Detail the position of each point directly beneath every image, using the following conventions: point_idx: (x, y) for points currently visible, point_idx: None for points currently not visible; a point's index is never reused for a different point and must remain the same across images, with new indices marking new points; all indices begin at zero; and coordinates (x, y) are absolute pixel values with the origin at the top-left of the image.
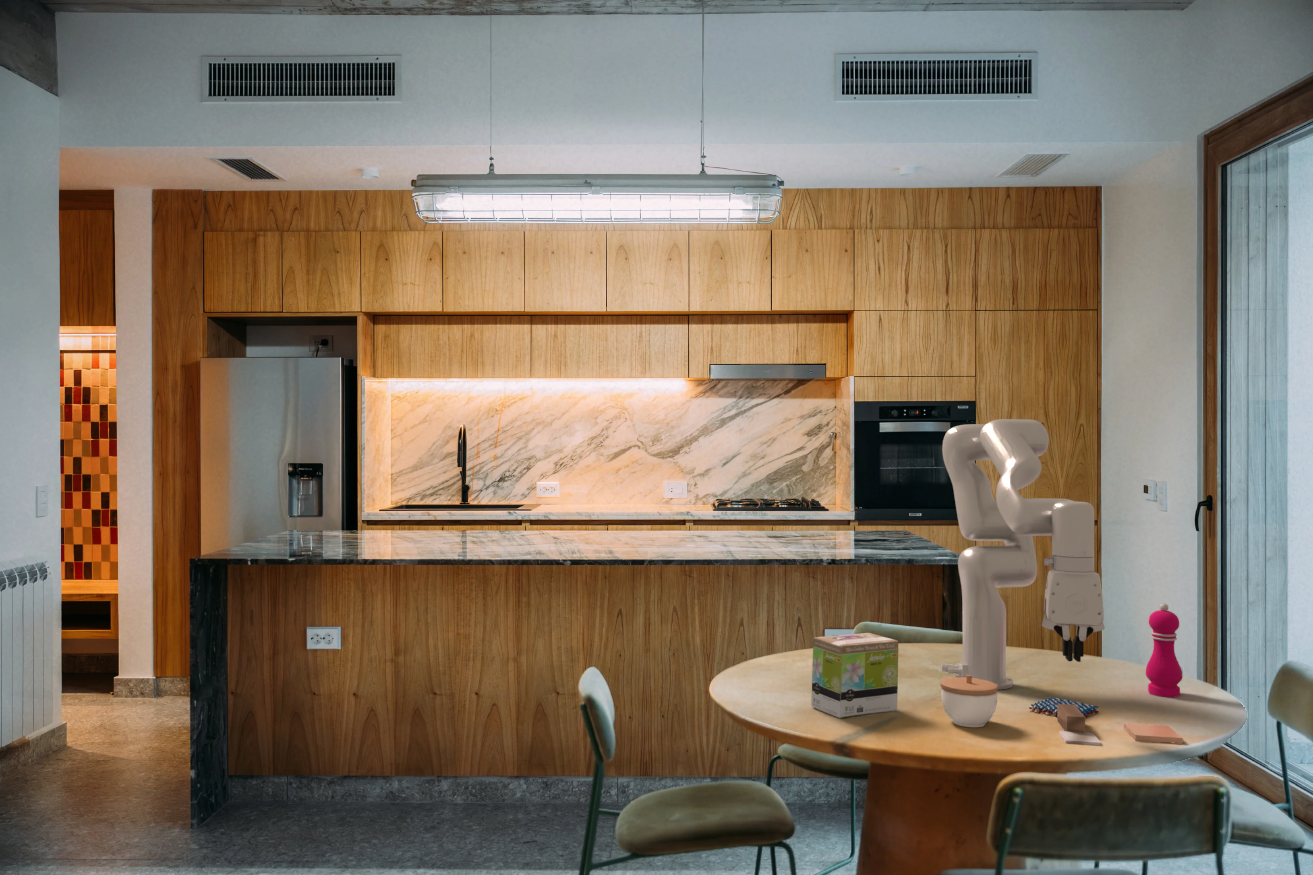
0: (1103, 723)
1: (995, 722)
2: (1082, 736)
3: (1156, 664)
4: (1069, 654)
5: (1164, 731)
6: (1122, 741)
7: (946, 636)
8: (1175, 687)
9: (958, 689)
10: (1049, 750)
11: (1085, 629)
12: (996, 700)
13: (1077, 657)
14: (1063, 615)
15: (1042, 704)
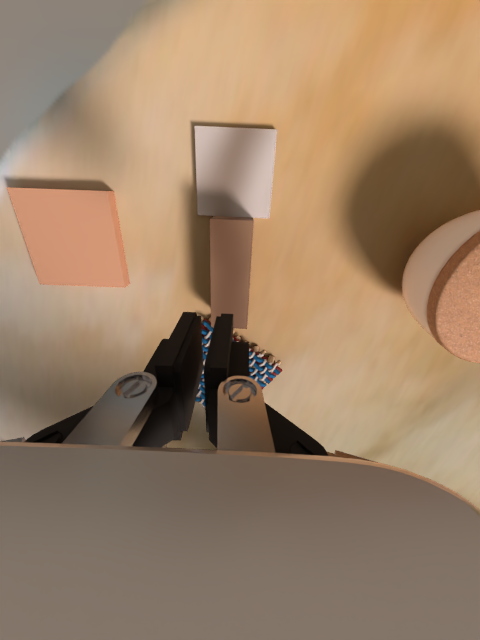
0: (163, 310)
1: (379, 279)
2: (227, 179)
3: None
4: (229, 326)
5: (46, 237)
6: (142, 178)
7: None
8: None
9: None
10: (343, 30)
11: (78, 437)
12: (430, 257)
13: (194, 321)
14: (325, 618)
15: (258, 374)
